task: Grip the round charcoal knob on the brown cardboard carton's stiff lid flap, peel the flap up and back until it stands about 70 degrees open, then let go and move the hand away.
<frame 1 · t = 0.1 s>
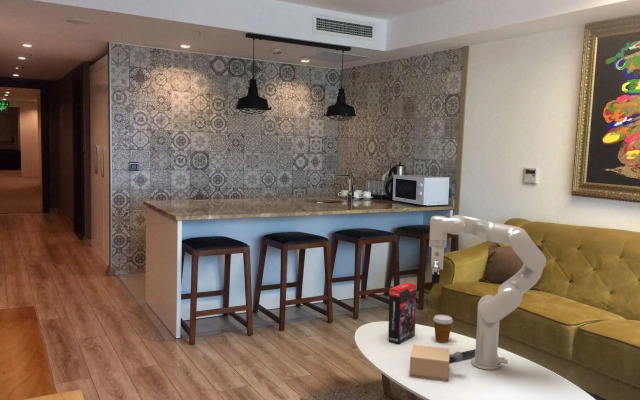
hand: (435, 280, 249), 37 cm above the table, tool pointing down, fingers open, 9 cm apart
carton: (429, 371, 238), on the table
disposable coffee cup: (441, 340, 276), on the table
carton lid: (411, 351, 239), point 8 cm above the table, hinge at 0.0°
graphics card box: (401, 339, 277), on the table
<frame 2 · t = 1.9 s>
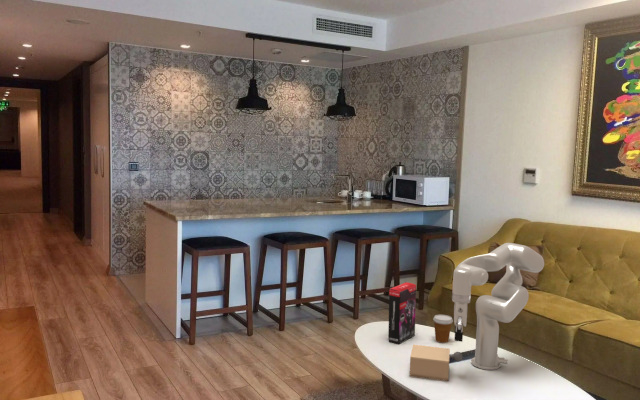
hand: (458, 337, 233), 17 cm above the table, tool pointing down, fingers open, 9 cm apart
nothing on the table moved.
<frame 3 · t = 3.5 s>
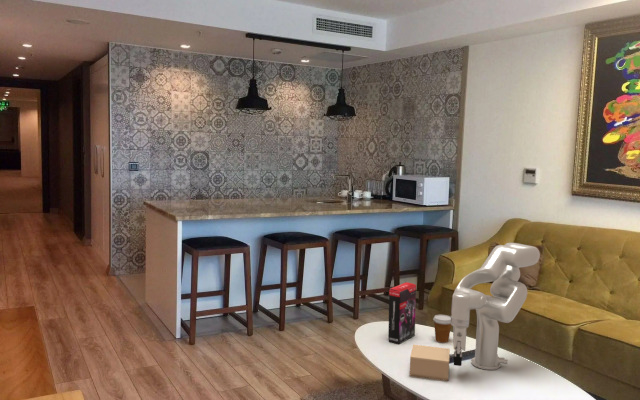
hand: (457, 362, 235), 6 cm above the table, tool pointing down, fingers closed on carton lid, 4 cm apart
carton lid: (411, 351, 239), point 8 cm above the table, hinge at 0.0°, touching gripper
everything else where it was.
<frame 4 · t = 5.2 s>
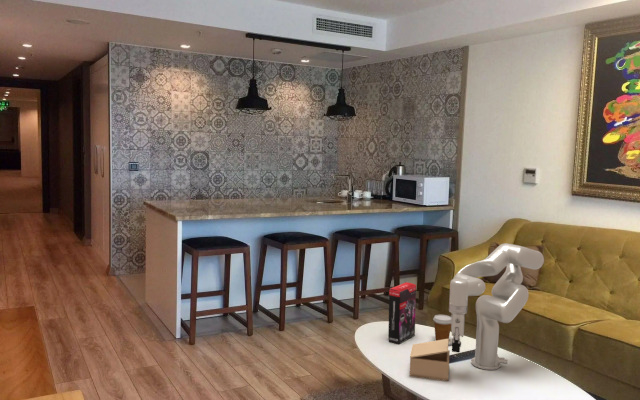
hand: (455, 349, 234), 12 cm above the table, tool pointing down, fingers closed on carton lid, 4 cm apart
carton lid: (411, 351, 239), point 8 cm above the table, hinge at 16.8°, touching gripper
everything else where it was.
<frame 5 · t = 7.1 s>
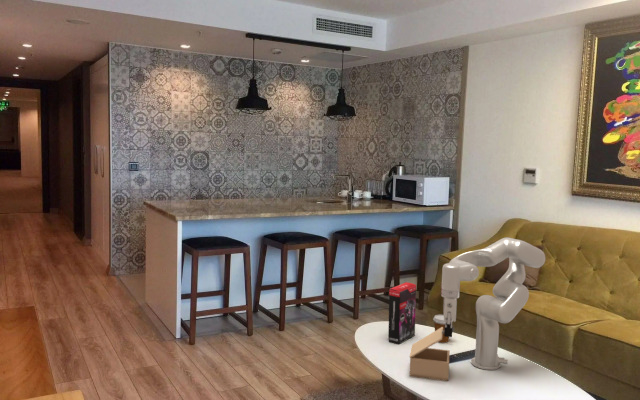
hand: (448, 334, 234), 18 cm above the table, tool pointing down, fingers closed on carton lid, 4 cm apart
carton lid: (411, 351, 239), point 8 cm above the table, hinge at 37.6°, touching gripper
everything else where it was.
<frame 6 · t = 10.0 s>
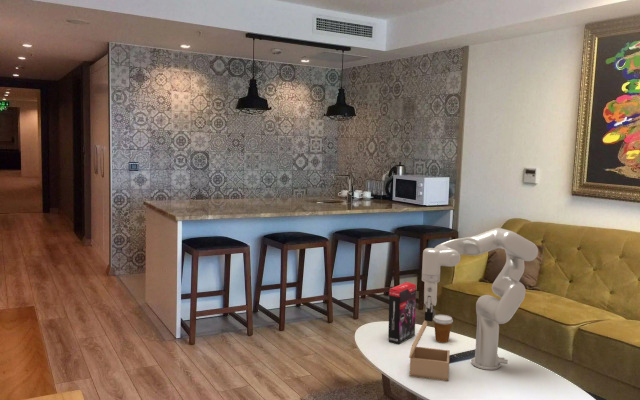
hand: (428, 318, 236), 24 cm above the table, tool pointing down, fingers open, 4 cm apart
carton lid: (411, 351, 239), point 8 cm above the table, hinge at 67.4°
everything else where it was.
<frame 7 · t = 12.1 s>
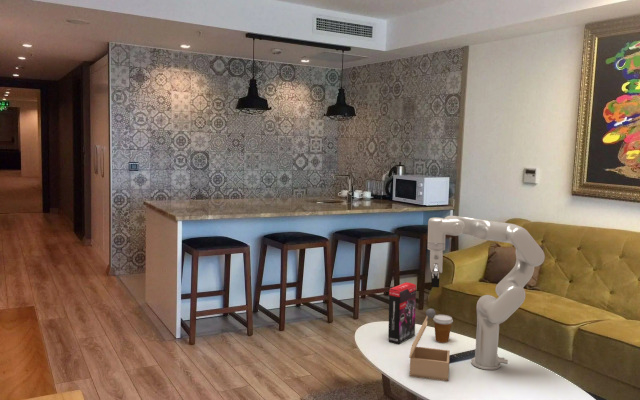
hand: (435, 284, 242), 37 cm above the table, tool pointing down, fingers open, 9 cm apart
nothing on the table moved.
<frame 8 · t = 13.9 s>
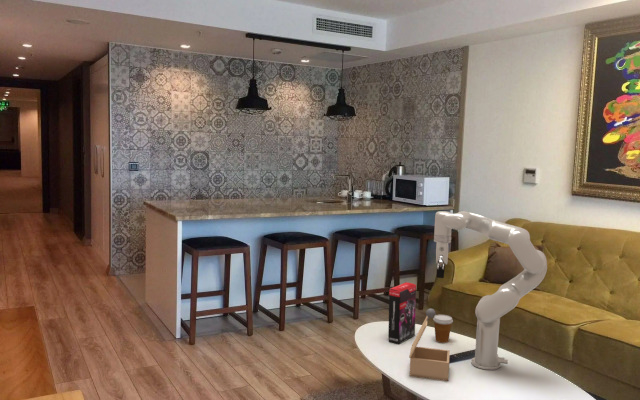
hand: (440, 275, 252), 38 cm above the table, tool pointing down, fingers open, 9 cm apart
nothing on the table moved.
at the end: carton lid at +68° (first picture: +0°); the gripper is holding nothing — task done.
